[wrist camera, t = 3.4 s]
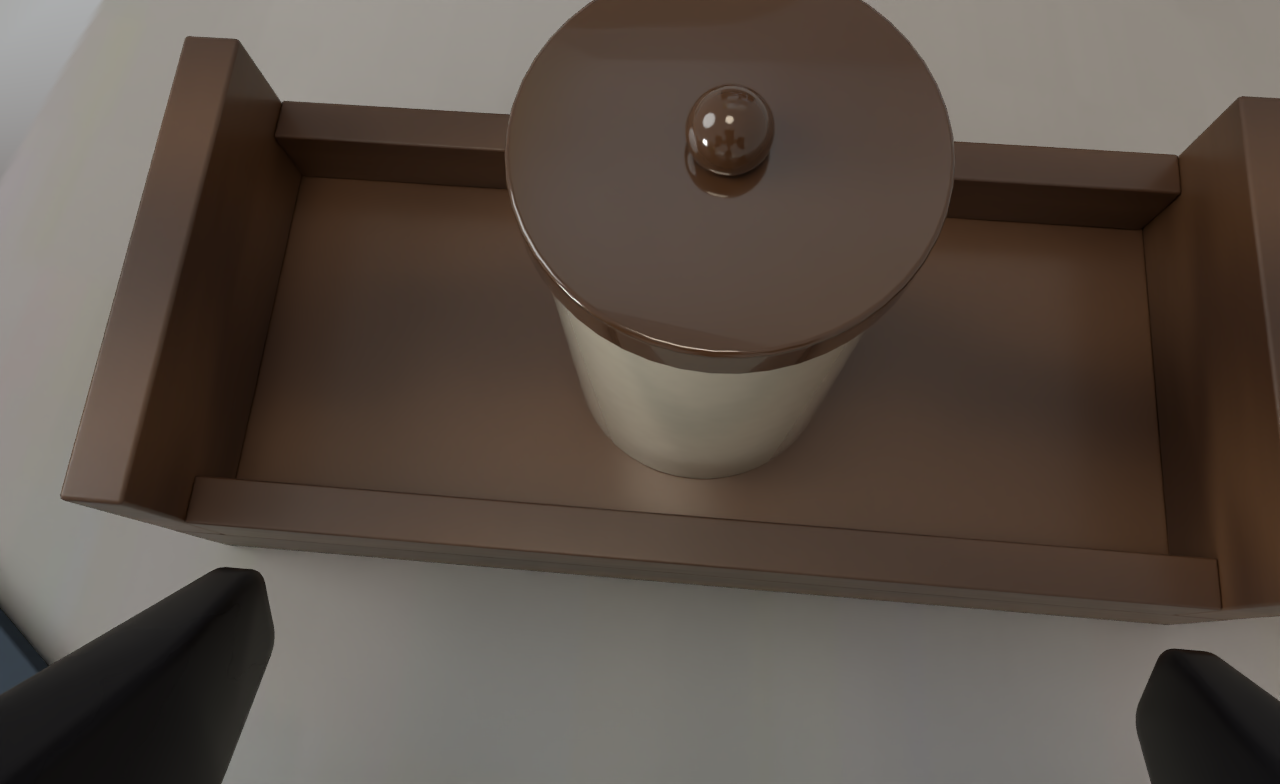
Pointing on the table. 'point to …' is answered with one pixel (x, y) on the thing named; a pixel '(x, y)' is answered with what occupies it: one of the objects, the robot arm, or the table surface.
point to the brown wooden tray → (672, 505)
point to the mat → (16, 656)
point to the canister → (724, 210)
